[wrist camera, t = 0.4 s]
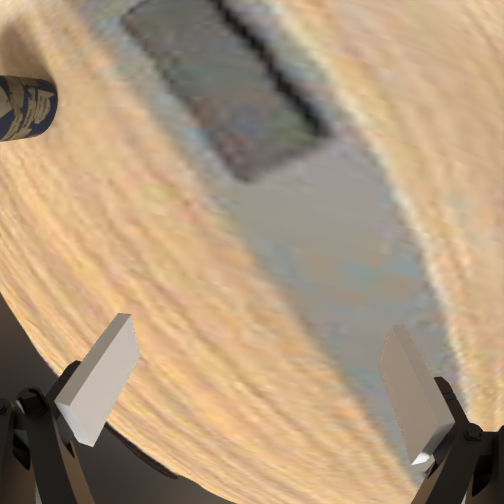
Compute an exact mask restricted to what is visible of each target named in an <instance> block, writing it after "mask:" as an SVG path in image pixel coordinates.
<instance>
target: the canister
mask: <svg viewBox="0 0 504 504" xmlns="http://www.w3.org/2000/svg"><path fill="white" fill-rule="evenodd" d="M56 109H57V95H56V91H55V89H54V87H53V86H52V85H51V84H50V83H49V82H48V81H45V80H41V79H32V78H23V77H14V76H2V75H0V142H1V141H10V140H18V139H23V138H31V137H36V136H39V135H40V134H42V133H43V132H45V131H46V130H47V129H48V127H49V126H50V124H51V123H52V121H53V119H54V116H55V113H56Z"/></svg>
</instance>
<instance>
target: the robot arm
mask: <svg viewBox="0 0 504 504" xmlns="http://www.w3.org/2000/svg"><path fill="white" fill-rule="evenodd" d="M140 356H141V355H140V351H139V347H138V343H137V338H136V334H135V329H134V325H133V320H132V315H131V314H124V313H118V314H117V315H116V317H115V318H114V319H113V321H112V322H111V323H110V325H109V326H108V327H107V328H106V330H105V331H104V332H103V334H102V335H101V336H100V338H99V339H98V340H97V342H96V343H95V344H94V346H93V347H92V348H91V350H90V351H89V353H88V354H87V355H86V357H85V358H84V359H83V361H82V362H81V361H77V360H76V361H74V362H73V363H71V364H70V365H68V366H67V368H66V369H65V370H64V372H63V373H62V375H61V376H60V377H59V378H58V381H56V383H55V384H54V385H53V387H52V388H51V390H50V391H49V392H48V394H47V395H46V397H44V395H43V393H42V391H41V390H40V389H39V388H36V387H27V388H25V389H23V390H22V391H20V392H19V394H18V395H17V398H16V402H17V403H18V405H19V408H18V407H13V405H12V404H11V402H10V401H9V400H8V399H4V398H1V399H0V504H36V501H35V500H36V499H35V479H36V483H37V486H38V490H39V494H40V498H41V501H42V504H95V502H94V500H93V498H92V496H91V493H90V490H89V488H88V485H87V483H86V480H85V477H84V475H83V472H82V469H81V466H80V464H79V461H78V458H77V455H76V452H75V448H74V445H73V443H72V441H71V439H72V437H73V435H75V437H76V438H77V440H78V442H80V443H83V444H86V445H89V446H92V447H93V446H94V444H95V442H96V440H97V438H98V436H99V434H100V432H101V430H102V428H103V426H104V424H105V422H106V420H107V418H108V416H109V414H110V412H111V410H112V408H113V406H114V404H115V403H116V401H117V399H118V397H119V395H120V393H121V391H122V389H123V387H124V385H125V383H126V382H127V380H128V378H129V376H130V374H131V372H132V370H133V369H134V367H135V365H136V363H137V361H138V359H139V357H140ZM379 369H380V371H381V374H382V377H383V380H384V382H385V385H386V388H387V391H388V394H389V396H390V399H391V402H392V405H393V408H394V411H395V414H396V417H397V420H398V423H399V426H400V429H401V432H402V435H403V439H404V442H405V445H406V448H407V451H408V455H409V458H410V462H411V465H413V464H418V463H422V462H426V461H428V459H429V458H430V457H431V456H432V454H433V456H434V459H435V461H434V462H433V464H432V465H431V466H430V467H429V468H428V470H427V471H426V472H425V473H428V474H427V476H426V477H425V479H424V481H423V483H422V485H421V487H420V489H419V490H418V492H417V494H416V496H415V498H414V499H413V501H412V503H411V504H461V503H462V501H463V498H464V496H465V494H466V500H465V504H504V425H503V426H502V427H501V428H500V429H499V431H498V432H484V431H483V430H482V429H481V428H480V427H479V426H478V425H476V424H474V423H469V421H468V419H467V417H466V415H465V413H464V411H463V409H462V407H461V405H460V403H459V401H458V400H457V399H456V396H455V394H454V393H453V390H452V388H451V386H450V385H449V383H448V382H447V381H446V380H445V379H443V378H442V377H434V378H433V376H432V374H431V372H430V370H429V368H428V367H427V365H426V363H425V361H424V359H423V357H422V356H421V354H420V352H419V350H418V348H417V346H416V345H415V343H414V341H413V339H412V338H411V336H410V334H409V332H408V331H407V329H406V327H405V325H404V324H401V325H390V329H389V333H388V336H387V340H386V343H385V346H384V350H383V353H382V356H381V359H380V363H379ZM466 491H467V493H466Z"/></svg>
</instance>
